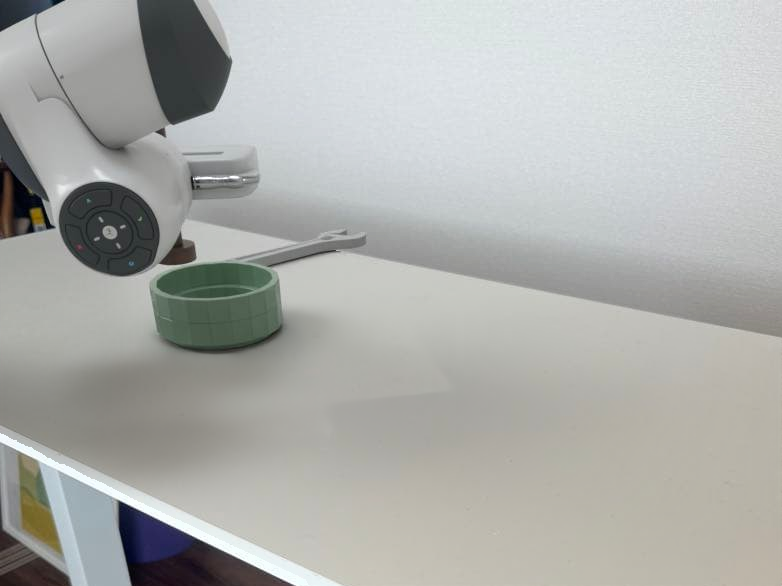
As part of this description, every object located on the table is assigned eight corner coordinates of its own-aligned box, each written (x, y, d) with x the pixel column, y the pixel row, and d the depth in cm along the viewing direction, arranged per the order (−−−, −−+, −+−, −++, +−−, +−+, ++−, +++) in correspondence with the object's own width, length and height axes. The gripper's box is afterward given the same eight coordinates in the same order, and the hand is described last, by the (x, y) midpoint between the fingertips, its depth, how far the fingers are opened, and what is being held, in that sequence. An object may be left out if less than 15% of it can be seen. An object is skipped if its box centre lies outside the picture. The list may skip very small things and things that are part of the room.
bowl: (157, 358, 90) (147, 305, 87) (159, 314, 102) (150, 265, 99) (289, 346, 93) (284, 294, 90) (276, 304, 105) (272, 257, 101)
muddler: (154, 266, 86) (122, 88, 77) (155, 255, 90) (125, 83, 80) (197, 263, 87) (170, 86, 78) (196, 252, 91) (171, 81, 81)
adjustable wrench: (226, 277, 115) (225, 264, 114) (206, 267, 119) (204, 254, 118) (371, 245, 127) (371, 233, 126) (348, 237, 131) (348, 225, 130)
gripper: (255, 143, 71) (259, 120, 83) (13, 150, 69) (51, 125, 81) (263, 219, 75) (266, 187, 86) (32, 227, 73) (66, 193, 84)
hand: (160, 157), depth 84 cm, fingers closed on muddler, 2 cm apart
